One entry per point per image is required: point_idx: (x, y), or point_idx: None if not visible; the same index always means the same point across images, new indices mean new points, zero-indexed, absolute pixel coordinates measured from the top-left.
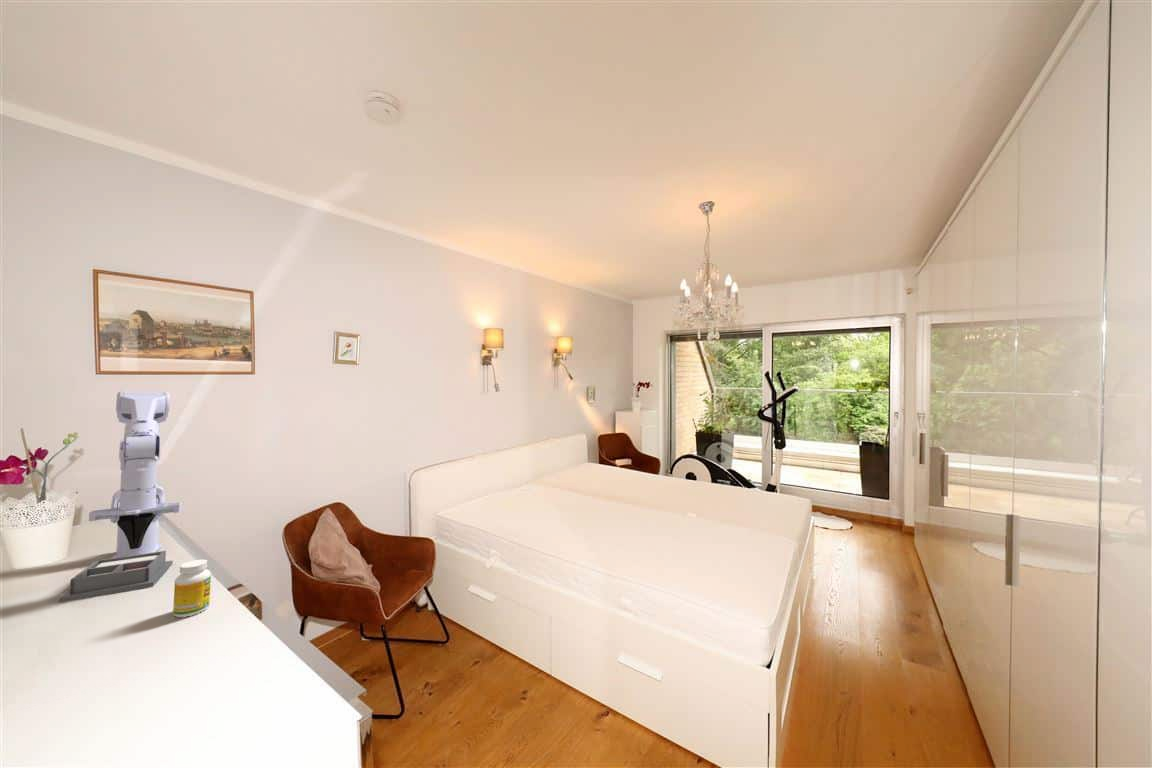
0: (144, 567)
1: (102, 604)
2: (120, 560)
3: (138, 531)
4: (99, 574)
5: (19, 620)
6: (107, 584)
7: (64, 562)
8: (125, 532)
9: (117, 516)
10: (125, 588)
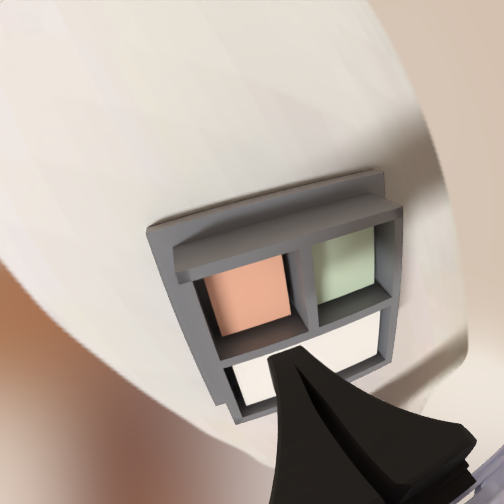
0: (237, 330)
1: (236, 99)
2: (337, 371)
3: (305, 435)
4: (352, 287)
5: (394, 75)
6: (294, 218)
7: (424, 390)
8: (379, 406)
9: (479, 477)
10: (227, 208)
